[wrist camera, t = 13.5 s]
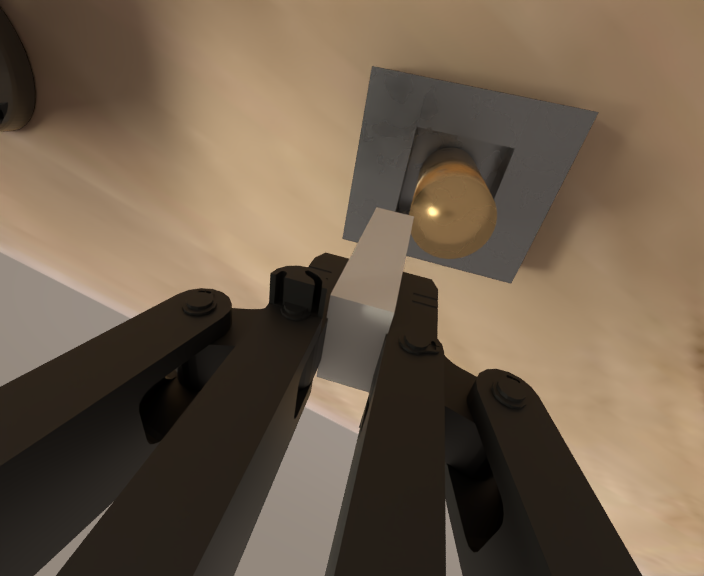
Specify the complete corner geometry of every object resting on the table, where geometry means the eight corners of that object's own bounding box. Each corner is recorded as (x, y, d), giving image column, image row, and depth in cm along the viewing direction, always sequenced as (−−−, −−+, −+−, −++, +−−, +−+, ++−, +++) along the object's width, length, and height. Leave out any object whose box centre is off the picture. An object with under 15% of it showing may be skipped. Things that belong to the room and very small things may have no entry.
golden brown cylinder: (412, 199, 32) (400, 248, 21) (426, 142, 29) (420, 168, 19) (466, 210, 31) (479, 267, 21) (485, 153, 28) (511, 186, 18)
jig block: (352, 224, 36) (342, 238, 32) (381, 68, 28) (372, 66, 25) (504, 264, 34) (511, 283, 30) (579, 109, 26) (598, 112, 23)
